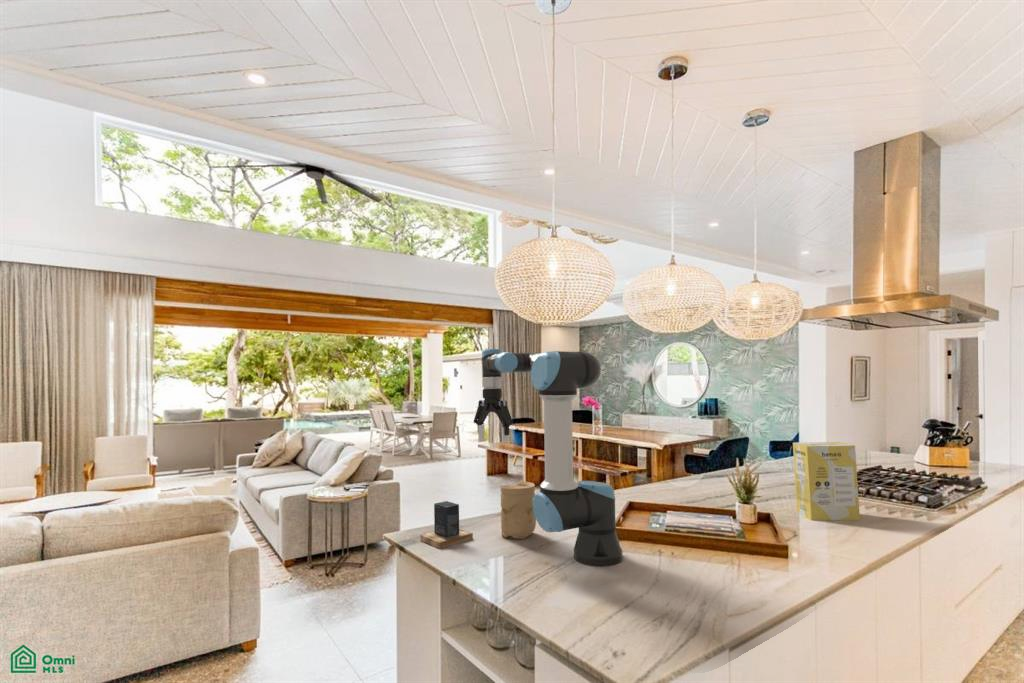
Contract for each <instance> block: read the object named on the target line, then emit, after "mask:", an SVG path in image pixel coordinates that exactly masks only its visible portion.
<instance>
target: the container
mask: <svg viewBox="0 0 1024 683" xmlns="http://www.w3.org/2000/svg"><path fill="white" fill-rule="evenodd" d="M535 491H536V484H535V483H533V482H529V481H518V482H517V483H515V484H512V485H510V484H506V485H502V484H501V485H500V492H501V493H500V507H501V510H500V523H501V524H500V528H501V529H500V530H501V531H500V532H501V533H500V534H501V535H502V537H503V538H505V539H506V538H509V537H510V538H511V537H512V538H513V539H518V540H520V539H521V540H522V539H523V540H524V539H526V538H528V536H530V535H531V534H532V533H533V532H534V531H535V529H536V526H537V520H536V518H535V515H534V511H533V498H534V496H535V495H536V492H535Z"/></svg>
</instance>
